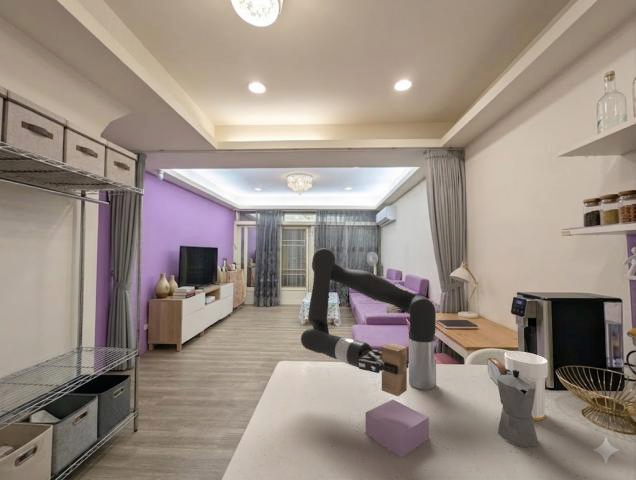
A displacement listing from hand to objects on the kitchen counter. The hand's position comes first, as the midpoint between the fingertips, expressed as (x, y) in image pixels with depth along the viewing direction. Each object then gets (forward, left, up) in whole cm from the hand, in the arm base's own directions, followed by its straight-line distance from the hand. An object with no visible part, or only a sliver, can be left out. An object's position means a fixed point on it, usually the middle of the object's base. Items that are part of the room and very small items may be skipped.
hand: (402, 367), depth 80 cm
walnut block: (+1, -2, -7) cm, 7 cm away
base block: (+1, -1, -19) cm, 19 cm away
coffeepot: (-29, +13, -19) cm, 37 cm away
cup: (-44, +8, -19) cm, 49 cm away
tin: (-57, -9, -19) cm, 61 cm away
